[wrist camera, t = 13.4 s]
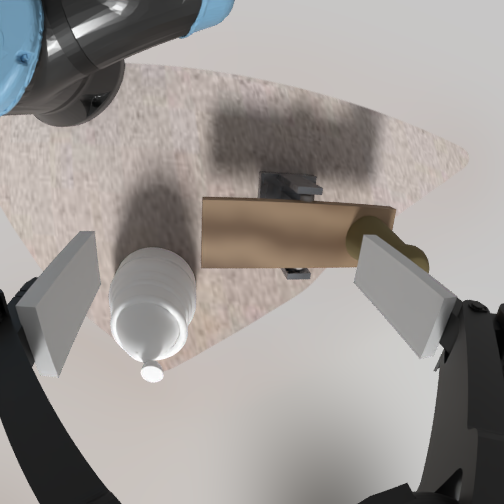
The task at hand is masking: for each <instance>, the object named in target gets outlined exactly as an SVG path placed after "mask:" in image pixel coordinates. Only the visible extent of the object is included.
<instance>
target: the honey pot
mask: <svg viewBox="0 0 504 504" xmlns="http://www.w3.org/2000/svg"><path fill="white" fill-rule="evenodd" d="M108 297H109V305H110V312H111V320H110V327H111V333H112V335H113V337H114V339H115V341H116V342H117V343H118V344H119V346H120V347H121V348H123V349H124V350H125V351H126V352H127V353H128V354H129V355H130V356H131V357H132V358H133V359H135V360H137V361H140V362H144V363H145V364H144V365H143V367H142V369H141V376H142V377H143V378H144V379H145V380H147V381H149V382H158V381H160V380H162V378H163V369H162V367H161V365H160V364H159V363H158V362H156V361H153V360H160V359H165V358H168V357H170V356H173V355H174V354H176V353H177V352H178V351H180V349H181V348H182V347H183V345H184V344H185V342H186V339H187V336H188V325H189V323H190V322H191V320H192V318H193V315H194V313H195V310H196V281H195V277H194V273H193V271H192V270H191V268H190V266H189V265H188V263H187V262H186V261H185V260H184V259H183V258H182V257H181V256H179V255H177V254H175V253H174V252H172V251H170V250H166V249H163V248H156V247H148V248H143V249H139V250H137V251H135V252H133V253H131V254H129V255H128V256H127V257H126V258H125V259H124V260H123V261H122V262H121V264H120V266H119V268H118V270H117V272H116V274H115V276H114V278H113V280H112V283H111V284H110V290H109V296H108ZM177 339H178V340H177ZM175 342H176V343H175ZM174 343H175V344H174Z"/></svg>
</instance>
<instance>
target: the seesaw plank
mask: <svg viewBox="0 0 504 504" xmlns="http://www.w3.org/2000/svg"><path fill="white" fill-rule="evenodd" d="M312 197H313V196H311V195H307V194H301V197H300V200H287V199H264V198H233V197H203V200H202V241H201V268H294V269H298V270H300V269H303V268H333V267H336V268H337V267H357V265H358V260H356V259H354V258H353V257H351V256H350V254H349V253H348V252H347V249H346V246H345V243H346V235H347V232H348V230H349V228H350V227H351V225H352V224H353V223H354V222H355V221H356V220H358V219H360V218H362V217H364V216H375V217H377V218H379V219H380V220H381V221H382V222H383V223H385V224H386V225H387V226H388V227H389V228H390V229H391V230H392V228H393V224H394V218H395V213H396V209H394V208H392V207H390V206H378V205H366V204H353V203H339V202H323V201H312Z"/></svg>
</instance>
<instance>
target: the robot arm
mask: <svg viewBox="0 0 504 504" xmlns="http://www.w3.org/2000/svg"><path fill="white" fill-rule="evenodd" d="M234 1H235V0H0V116H5V115H27V114H33V115H34V116H35V117H36V118H37V119H39V120H40V121H42V122H44V123H46V124H48V125H52V126H56V127H68V126H76V125H80V124H83V123H86V122H88V121H90V120H92V119H93V118H95V117H96V116H98V115H99V114H100V113H101V112H103V111H104V110H105V109H106V108H107V107H108V105H109V104H110V103H111V102H112V100H113V99H114V97H115V96H116V94H117V92H118V90H119V88H120V85H121V82H122V79H123V75H124V59H125V58H127V57H130V56H132V55H134V54H136V53H139V52H142V51H144V50H146V49H149V48H151V47H154V46H157V45H159V44H162V43H165V42H167V41H170V40H173V39H176V38H181V39H182V38H186V37H188V36H190V35H191V34H192V33H194V32H197V31H199V30H203V29H205V28H208V27H211V26H215V25H217V24H218V23H220V22H222V21H223V20H224V18H225V17H227V16H228V15H229V13H230V11H231V9H232V7H233V4H234ZM354 283H355V284H356V286H357V287H358V288H359V289H360V290H361V291H362V292H363V293H364V294H365V296H366V297H367V298H368V299H369V300H370V301H371V302H372V304H373V305H374V306H375V307H376V308H377V309H378V310H379V311H380V312H381V314H382V315H383V316H384V317H385V318H386V319H387V321H388V322H389V323H390V324H391V325H392V326H393V327H394V329H395V330H396V331H397V332H398V333H399V335H400V336H401V337H402V338H403V339H404V340H405V342H406V343H407V344H408V345H409V346H410V348H411V349H412V350H413V351H414V352H415V353H416V355H417V356H418V357H419V358H420V359H422V358H426V357H431V356H434V354H435V352H436V350H437V347H438V345H439V343H440V344H441V345H442V346H443V348H444V350H443V352H442V354H441V356H440V358H439V361H438V363H437V365H436V367H435V369H434V371H437V369H438V368H440V371H439V381H438V390H437V398H436V406H435V413H434V420H433V426H432V432H431V438H430V443H429V448H428V453H427V457H426V463H425V466H424V471H423V475H422V479H421V483H420V485H419V488H418V490H417V491H416V492H412V491H411V489H410V487H409V485H408V484H407V483H405V484H403V485H400V486H398V487H395V488H392V489H390V490H387V491H384V492H381V493H378V494H375V495H372V496H370V497H368V498H366V499H365V500H363V501H361V502H360V503H358V504H504V304H501V305H500V307H499V310H498V312H497V314H492V313H490V311H489V310H488V308H487V307H486V306H484V305H483V304H481V303H480V302H478V301H472V300H465V301H463V302H462V301H461V300H459V299H458V298H457V296H456V295H455V294H453V293H452V292H451V291H450V290H448V289H447V288H446V287H444V286H443V285H442V284H441V283H440V282H438V281H437V280H436V279H434V278H433V277H432V276H431V275H429V274H428V273H427V272H426V271H424V270H423V269H422V268H420V267H419V266H418V265H416V264H415V263H414V262H412V261H411V260H410V259H408V258H407V257H406V256H404V255H403V254H402V253H400V252H399V251H398V250H396V249H395V248H393V247H392V246H391V245H389V244H388V243H386V242H385V241H384V240H382V239H381V238H379V237H378V236H377V235H363V240H362V245H361V251H360V256H359V260H358V265H357V270H356V275H355V279H354ZM100 285H101V281H100V274H99V266H98V258H97V249H96V240H95V231H80V232H79V233H78V234H77V235H76V236H75V237H74V238H73V239H72V240H71V241H70V242H69V243H68V245H67V246H66V247H65V248H64V249H63V250H62V251H61V252H60V253H59V254H58V256H57V257H56V258H55V259H54V260H53V261H52V262H51V263H50V265H49V266H48V267H47V268H46V269H45V270H44V271H43V273H42V274H41V275H40V276H39V277H35V278H33V279H31V280H30V281H28V282H26V283H25V284H24V286H23V287H22V288H21V289H20V291H18V293H17V294H16V295H15V297H13V298H12V300H11V301H10V302H9V303H8V305H7V303H6V300H5V296H4V293H3V291H2V290H1V289H0V418H1V421H2V423H3V426H4V429H5V432H6V434H7V436H8V439H9V441H10V444H11V446H12V449H13V451H14V453H15V456H16V458H17V460H18V462H19V464H20V467H21V469H22V471H23V473H24V475H25V477H26V479H27V481H28V483H29V485H30V487H31V488H32V490H33V492H34V494H35V496H36V498H37V500H38V501H39V503H40V504H121V503H120V501H118V499H117V498H116V497H115V496H114V495H113V493H112V492H110V491H109V490H108V489H107V488H106V486H105V485H104V484H103V483H102V481H101V480H100V479H99V478H98V476H97V475H96V473H95V472H94V471H93V469H92V468H91V467H90V465H89V464H88V462H87V461H86V460H85V458H84V457H83V455H82V454H81V452H80V451H79V449H78V448H77V446H76V445H75V443H74V442H73V440H72V439H71V438H70V436H69V434H68V433H67V431H66V429H65V428H64V426H63V424H62V423H61V421H60V419H59V418H58V416H57V414H56V413H55V411H54V409H53V407H52V405H51V404H50V402H49V401H48V399H47V396H46V395H45V393H44V391H43V389H42V387H41V385H40V383H39V381H38V379H37V377H36V375H35V373H34V371H33V369H32V366H33V364H34V362H35V364H36V367H37V369H38V371H39V374H40V375H43V376H50V377H58V378H59V375H60V373H61V370H62V368H63V365H64V363H65V361H66V358H67V356H68V354H69V351H70V349H71V347H72V344H73V342H74V340H75V338H76V335H77V333H78V331H79V329H80V327H81V325H82V322H83V320H84V318H85V316H86V314H87V312H88V310H89V308H90V306H91V303H92V301H93V299H94V297H95V295H96V293H97V291H98V289H99V287H100Z"/></svg>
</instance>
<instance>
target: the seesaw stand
mask: <svg viewBox="0 0 504 504" xmlns="http://www.w3.org/2000/svg"><path fill="white" fill-rule="evenodd" d="M316 178H317V177H316V176H314V175H301V174H288V173H272V172H260V176H259V189H258V198H264V199H287V200H300V197H301V194H307V195H311V196H313V197H312V201H314V195H315V194H316V195H322V191H323V188H322V187H320V186H318V185H316ZM281 269H282V271H283V273H284V275H285V277H286V278H287V279H310V275H311V273H310V272H309V270H308V269H307V268H303V269H300V270H298V269H294V268H281Z"/></svg>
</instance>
